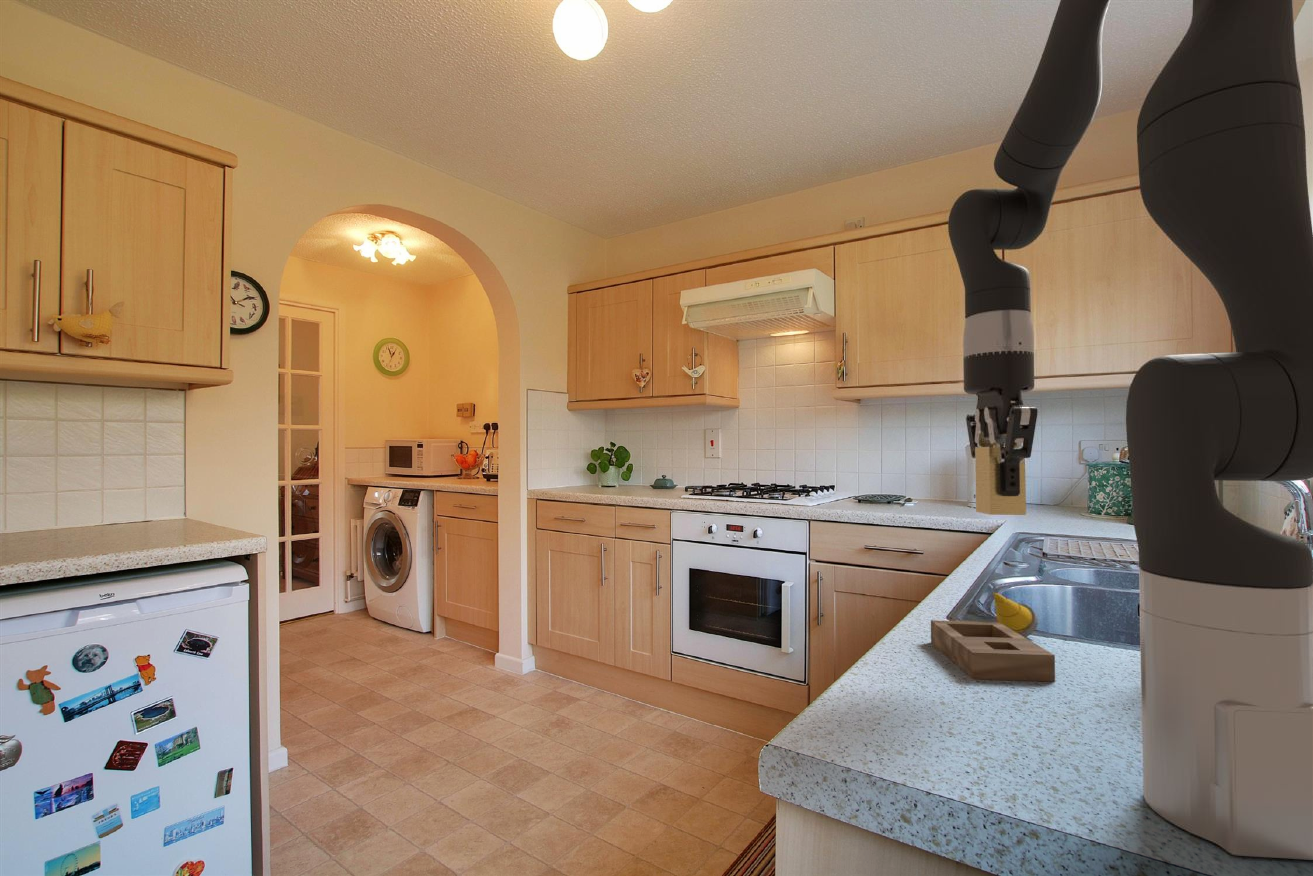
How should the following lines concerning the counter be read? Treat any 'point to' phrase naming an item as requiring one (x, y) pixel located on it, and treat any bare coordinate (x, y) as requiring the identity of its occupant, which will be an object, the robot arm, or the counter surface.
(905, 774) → the counter surface
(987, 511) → the tan square peg
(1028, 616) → the drill bit
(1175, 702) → the robot arm
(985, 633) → the bore block
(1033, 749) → the counter surface
